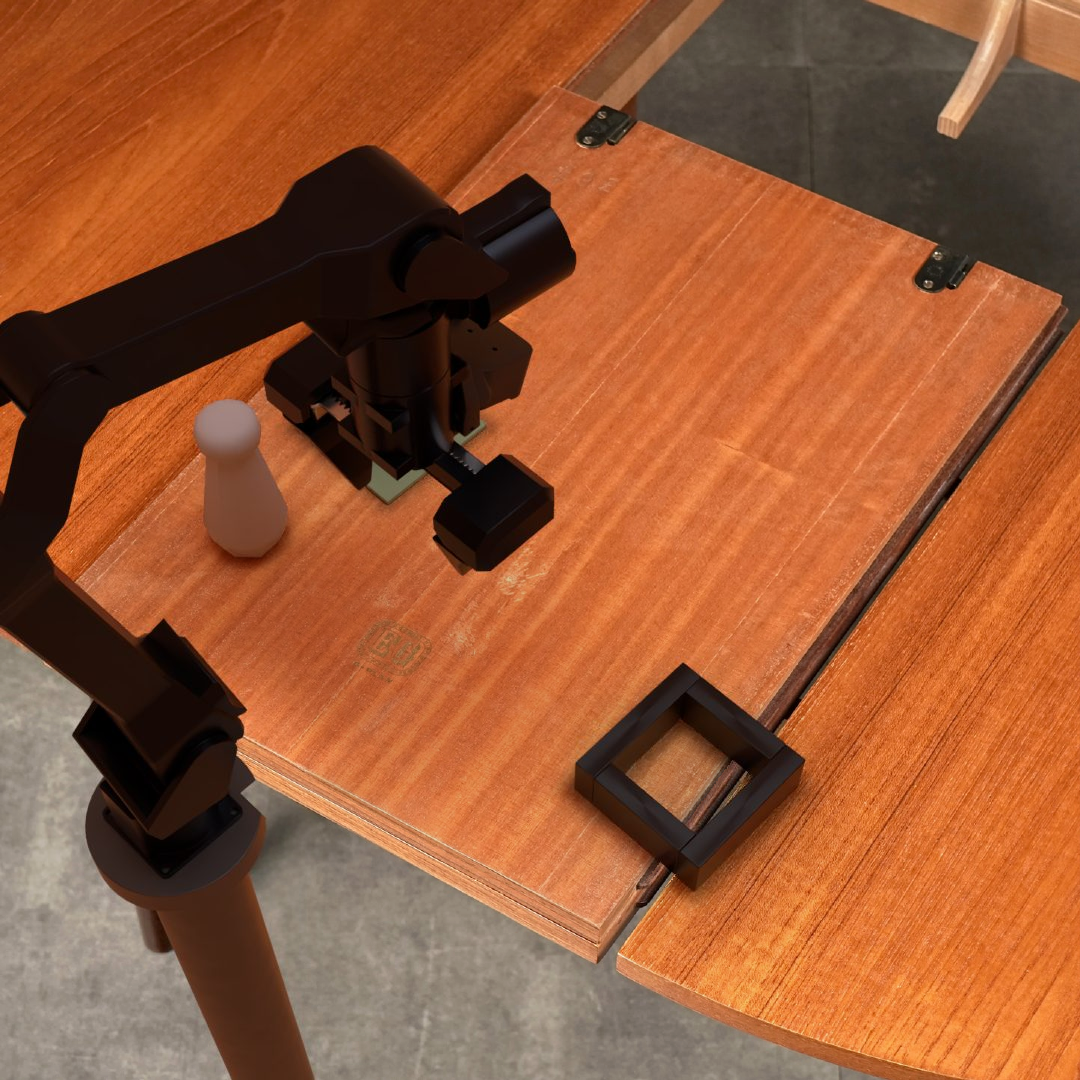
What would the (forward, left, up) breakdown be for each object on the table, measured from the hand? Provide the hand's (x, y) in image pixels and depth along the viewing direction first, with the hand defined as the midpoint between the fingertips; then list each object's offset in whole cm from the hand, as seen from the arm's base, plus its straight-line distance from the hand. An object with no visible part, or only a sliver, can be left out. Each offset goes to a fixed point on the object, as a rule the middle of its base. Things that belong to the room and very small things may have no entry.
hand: (414, 526), depth 104 cm
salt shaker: (-3, +15, -13) cm, 20 cm away
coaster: (+11, +15, -13) cm, 23 cm away
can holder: (+4, -20, -13) cm, 24 cm away
